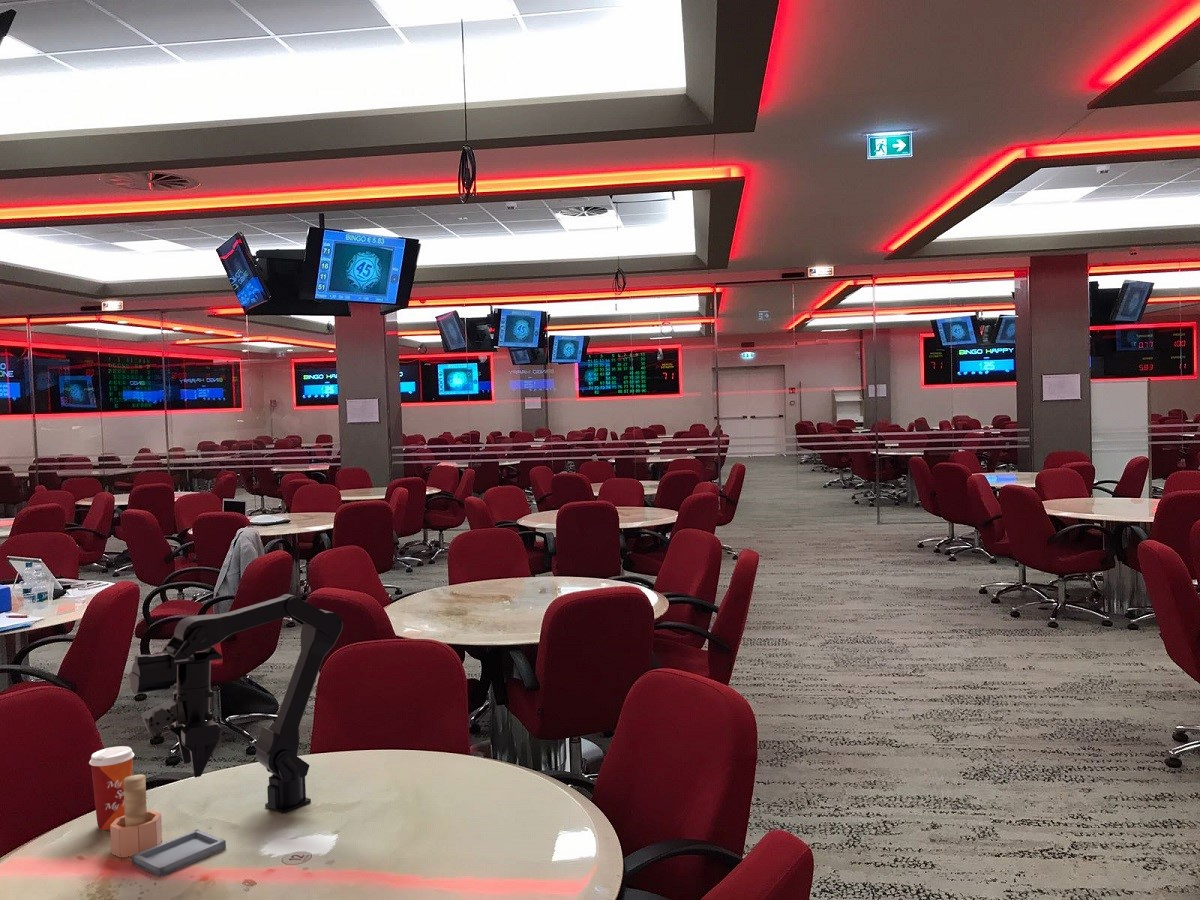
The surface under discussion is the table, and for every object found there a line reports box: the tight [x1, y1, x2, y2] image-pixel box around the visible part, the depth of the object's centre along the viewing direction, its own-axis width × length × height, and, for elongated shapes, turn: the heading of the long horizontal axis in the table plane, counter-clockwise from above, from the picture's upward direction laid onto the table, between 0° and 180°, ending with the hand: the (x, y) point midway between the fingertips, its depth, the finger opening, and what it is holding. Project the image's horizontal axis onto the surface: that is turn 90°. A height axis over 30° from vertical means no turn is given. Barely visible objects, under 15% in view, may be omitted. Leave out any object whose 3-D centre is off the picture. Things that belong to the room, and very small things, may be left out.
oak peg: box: [124, 774, 148, 827], centre depth 158 cm, size 4×4×12 cm
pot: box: [109, 809, 163, 858], centre depth 158 cm, size 8×8×5 cm
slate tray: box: [131, 829, 227, 878], centre depth 154 cm, size 12×9×2 cm
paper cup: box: [88, 745, 135, 831], centre depth 169 cm, size 8×8×14 cm
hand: (192, 770), depth 163 cm, fingers open, 9 cm apart
